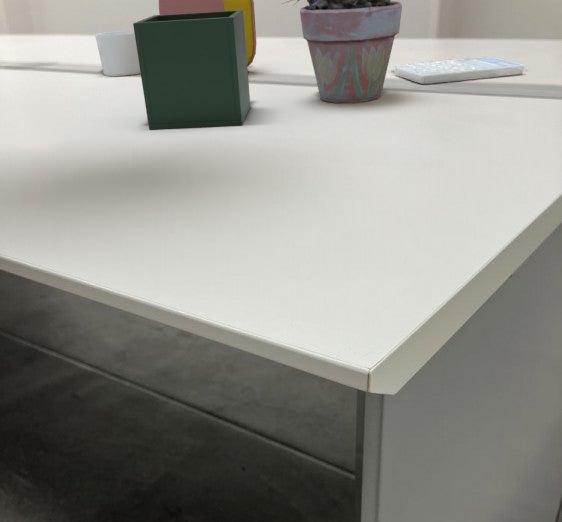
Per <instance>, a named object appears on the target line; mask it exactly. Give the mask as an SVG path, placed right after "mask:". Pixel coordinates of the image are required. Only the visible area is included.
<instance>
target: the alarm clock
mask: <svg viewBox="0 0 562 522" xmlns="http://www.w3.org/2000/svg"><path fill="white" fill-rule="evenodd" d="M233 10H243V14H244V27H245V41H246V54H247V67H248V68H249V66H251V64H253V62H254V59H255V56H256V54H257V30H256V15H255V2H254V0H158V13H159V14H158V15H167V14H184V13H200V12H217V11H233Z"/></svg>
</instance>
